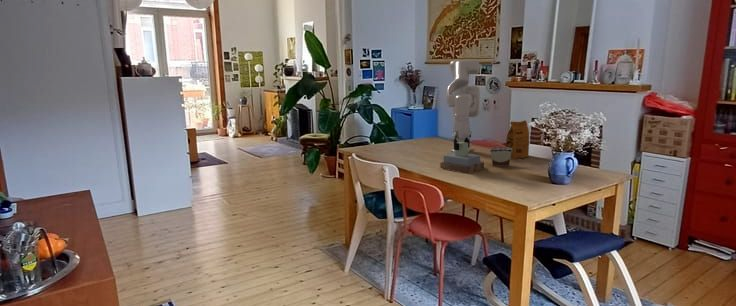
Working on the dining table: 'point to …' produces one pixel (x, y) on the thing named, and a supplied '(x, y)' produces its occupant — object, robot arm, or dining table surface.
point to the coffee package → (518, 139)
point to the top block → (462, 159)
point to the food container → (501, 156)
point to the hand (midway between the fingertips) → (461, 148)
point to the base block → (462, 167)
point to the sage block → (462, 149)
